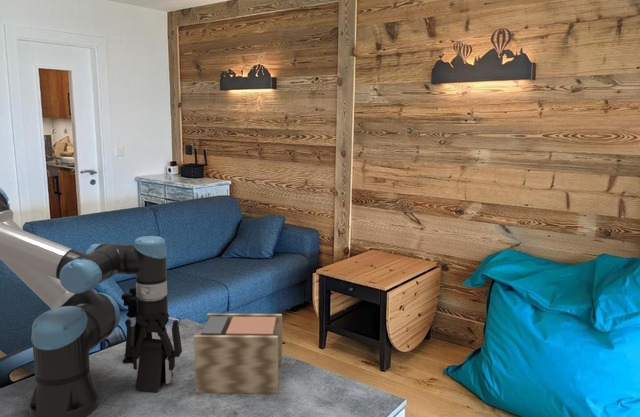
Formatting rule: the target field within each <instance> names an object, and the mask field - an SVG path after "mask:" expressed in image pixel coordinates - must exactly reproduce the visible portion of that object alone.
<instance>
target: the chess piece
mask: <svg viewBox="0 0 640 417" xmlns="http://www.w3.org/2000/svg"><path fill="white" fill-rule="evenodd" d="M128 291H129V293H123V294H121V295H120V296H121V300H123V306H124V307H127V310H128V311H127V312H126V317H128V318H129V317H132V318H134V317H136V316H137V299H138V297H137V293H136V287H130V288H129V290H128ZM128 318H127V319H128ZM140 331H141V327H140V325H139V324H138V323H137V322H136V324H135V331H134V345H133V350H135V347H136V344H137V341H138V338H139V334H140ZM145 338H153V332H149V333H147V334H146V337H145ZM123 355H124V358H123V360H122V364H133V358H132V357H130V356H126V355H125V354H123ZM139 356H140V354H139Z"/></svg>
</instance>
